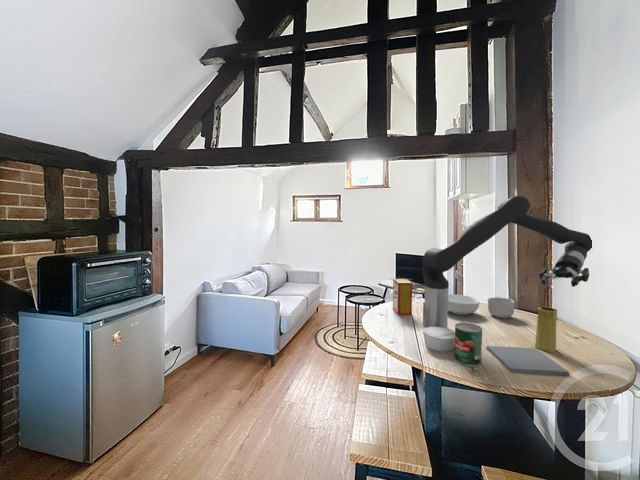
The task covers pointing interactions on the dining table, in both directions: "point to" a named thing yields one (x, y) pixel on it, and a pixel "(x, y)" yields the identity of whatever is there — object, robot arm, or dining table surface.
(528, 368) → the slate mat
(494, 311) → the teacup
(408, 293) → the baking soda box
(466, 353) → the canned tomato
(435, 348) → the ramekin
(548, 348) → the vase
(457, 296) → the cereal bowl
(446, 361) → the dining table surface
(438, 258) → the robot arm
